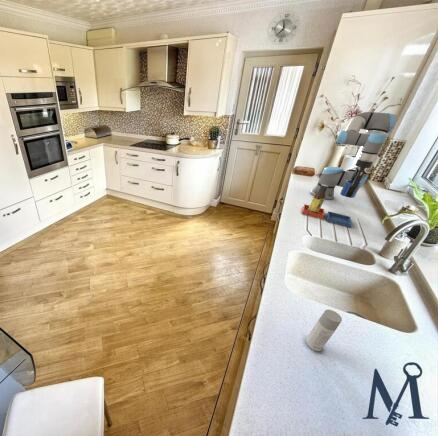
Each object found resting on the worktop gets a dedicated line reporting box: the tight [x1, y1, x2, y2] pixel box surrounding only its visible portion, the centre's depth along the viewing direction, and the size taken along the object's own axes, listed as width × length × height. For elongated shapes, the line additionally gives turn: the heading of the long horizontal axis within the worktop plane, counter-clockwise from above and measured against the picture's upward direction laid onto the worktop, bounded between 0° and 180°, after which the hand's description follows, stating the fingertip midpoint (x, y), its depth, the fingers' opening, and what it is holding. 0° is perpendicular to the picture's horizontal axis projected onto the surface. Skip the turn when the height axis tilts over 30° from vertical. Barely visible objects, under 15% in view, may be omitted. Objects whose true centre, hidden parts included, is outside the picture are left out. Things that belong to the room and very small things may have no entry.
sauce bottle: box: [308, 184, 328, 214], centre depth 156 cm, size 6×6×20 cm
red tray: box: [301, 203, 325, 220], centre depth 160 cm, size 12×12×2 cm
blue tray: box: [326, 211, 353, 228], centre depth 152 cm, size 12×12×2 cm
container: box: [305, 309, 343, 353], centre depth 74 cm, size 5×5×15 cm
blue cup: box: [340, 180, 361, 199], centre depth 149 cm, size 8×8×9 cm
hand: (347, 194), depth 151 cm, fingers closed on blue cup, 8 cm apart
